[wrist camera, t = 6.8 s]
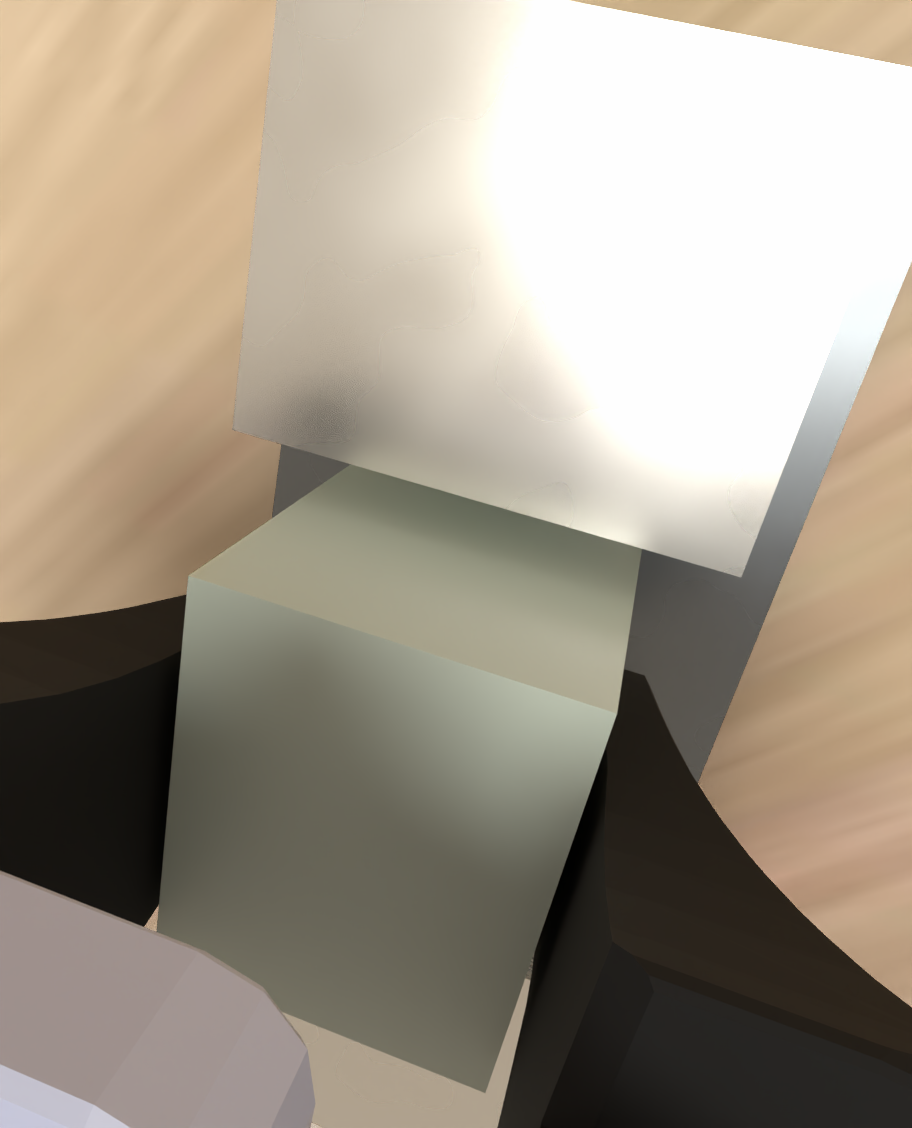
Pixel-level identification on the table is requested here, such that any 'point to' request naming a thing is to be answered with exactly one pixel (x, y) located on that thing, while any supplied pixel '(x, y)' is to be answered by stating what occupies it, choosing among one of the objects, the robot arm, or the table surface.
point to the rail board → (571, 319)
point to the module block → (390, 757)
